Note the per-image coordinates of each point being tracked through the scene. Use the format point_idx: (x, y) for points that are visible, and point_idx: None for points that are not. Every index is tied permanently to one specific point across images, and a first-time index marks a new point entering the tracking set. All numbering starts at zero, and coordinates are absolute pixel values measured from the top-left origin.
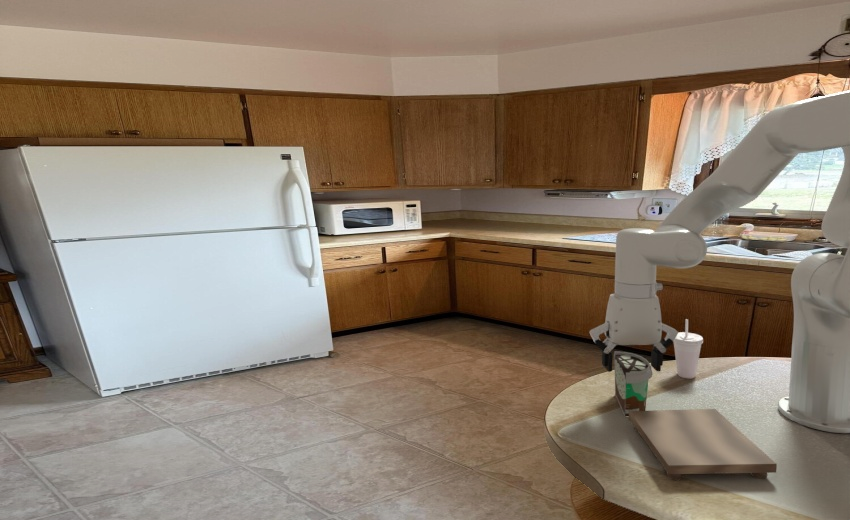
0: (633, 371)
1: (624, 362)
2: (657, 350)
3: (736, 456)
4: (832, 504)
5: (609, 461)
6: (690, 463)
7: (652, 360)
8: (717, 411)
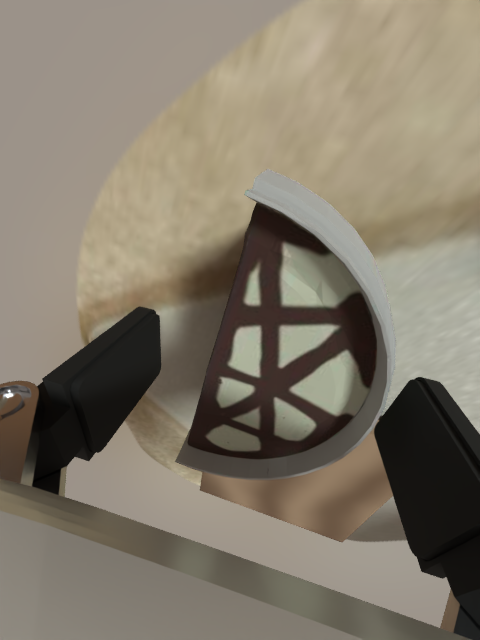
0: (234, 431)
1: (242, 356)
2: (449, 584)
3: (303, 518)
4: (358, 538)
5: (154, 417)
6: (229, 498)
7: (421, 425)
8: None
